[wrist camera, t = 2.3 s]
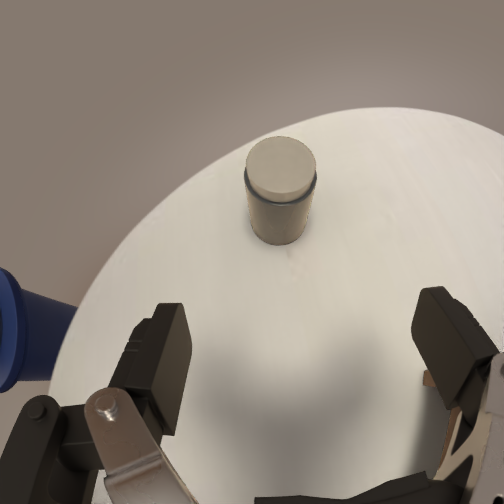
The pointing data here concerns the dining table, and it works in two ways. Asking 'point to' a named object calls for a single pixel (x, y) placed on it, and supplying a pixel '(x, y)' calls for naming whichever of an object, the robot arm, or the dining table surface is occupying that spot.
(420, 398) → the dining table surface
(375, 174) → the dining table surface
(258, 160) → the salt shaker
